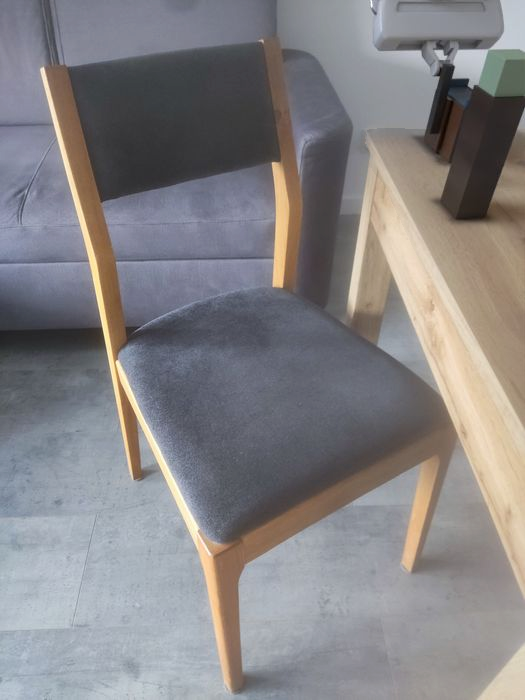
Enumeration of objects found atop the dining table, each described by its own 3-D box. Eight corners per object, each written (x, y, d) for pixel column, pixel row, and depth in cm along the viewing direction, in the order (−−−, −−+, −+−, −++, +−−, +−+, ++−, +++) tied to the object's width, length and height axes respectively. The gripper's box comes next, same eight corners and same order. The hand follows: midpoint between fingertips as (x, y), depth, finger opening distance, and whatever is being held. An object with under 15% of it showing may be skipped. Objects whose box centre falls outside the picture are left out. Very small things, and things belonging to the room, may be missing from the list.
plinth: (467, 202, 76) (506, 83, 65) (484, 220, 73) (528, 97, 62) (439, 204, 75) (473, 84, 64) (454, 222, 72) (494, 98, 61)
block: (507, 85, 65) (519, 48, 62) (524, 96, 62) (538, 58, 59) (477, 86, 64) (488, 49, 61) (493, 97, 61) (505, 59, 58)
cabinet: (450, 139, 93) (468, 78, 86) (477, 163, 86) (498, 99, 79) (417, 140, 92) (432, 78, 85) (442, 165, 85) (460, 100, 78)
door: (425, 139, 90) (446, 57, 81) (438, 152, 87) (460, 67, 78) (415, 140, 90) (434, 58, 81) (427, 152, 86) (449, 68, 78)
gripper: (376, -30, 76) (386, 64, 76) (504, -29, 80) (515, 61, 79) (361, -1, 83) (371, 87, 82) (481, -1, 86) (490, 83, 86)
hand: (442, 74), depth 81 cm, fingers closed, pressing on door
